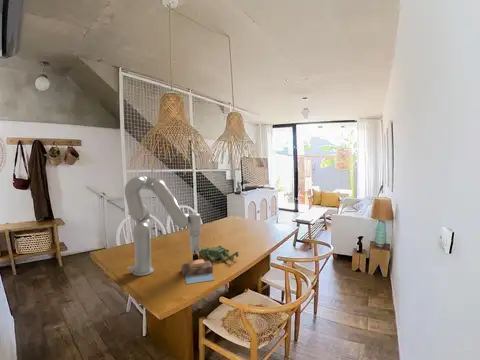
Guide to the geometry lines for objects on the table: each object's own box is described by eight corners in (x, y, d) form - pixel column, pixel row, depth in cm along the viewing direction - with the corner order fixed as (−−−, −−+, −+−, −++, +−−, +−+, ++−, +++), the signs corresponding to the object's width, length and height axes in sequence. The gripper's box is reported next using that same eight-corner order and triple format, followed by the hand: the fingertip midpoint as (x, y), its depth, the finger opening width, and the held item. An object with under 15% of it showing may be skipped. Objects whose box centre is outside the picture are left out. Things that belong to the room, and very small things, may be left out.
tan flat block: (190, 267, 156) (189, 264, 156) (188, 264, 162) (188, 260, 162) (204, 265, 159) (204, 262, 159) (203, 262, 164) (203, 259, 164)
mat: (186, 284, 143) (186, 283, 143) (184, 276, 153) (184, 276, 153) (214, 280, 148) (214, 279, 148) (211, 273, 157) (211, 272, 157)
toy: (242, 256, 184) (208, 252, 199) (242, 246, 184) (208, 243, 198) (228, 267, 166) (191, 261, 180) (227, 255, 166) (190, 251, 180)
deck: (182, 276, 153) (182, 270, 152) (181, 270, 162) (181, 264, 162) (212, 272, 158) (212, 266, 158) (209, 266, 167) (209, 260, 167)
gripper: (187, 230, 171) (188, 257, 172) (190, 236, 157) (191, 265, 158) (199, 229, 173) (199, 255, 174) (202, 235, 159) (203, 263, 160)
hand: (195, 260), depth 166 cm, fingers closed
